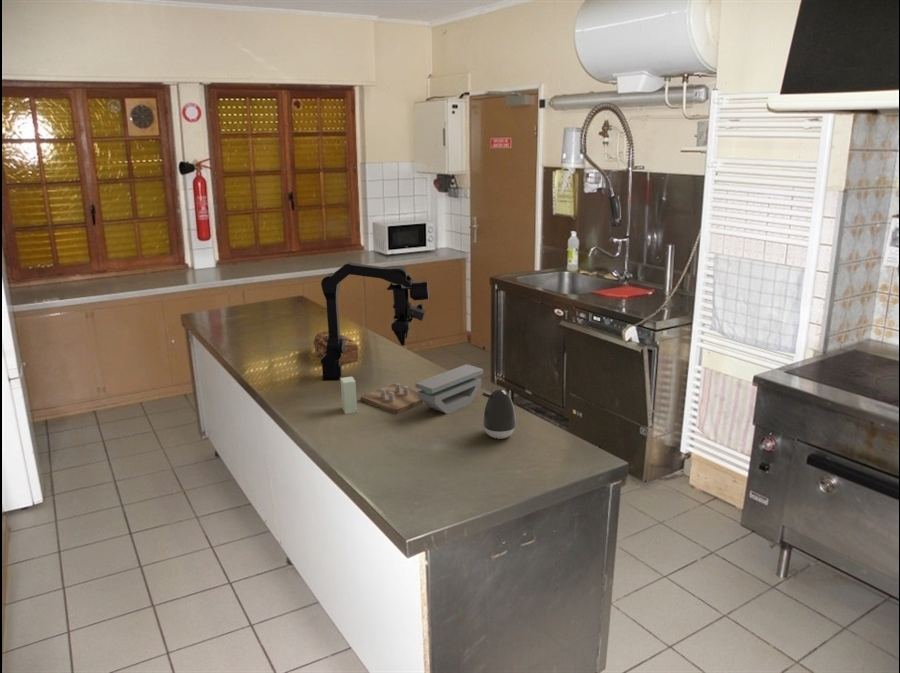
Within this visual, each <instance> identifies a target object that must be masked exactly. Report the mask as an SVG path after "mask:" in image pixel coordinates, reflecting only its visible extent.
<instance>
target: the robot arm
mask: <svg viewBox="0 0 900 673" xmlns="http://www.w3.org/2000/svg"><path fill="white" fill-rule="evenodd" d="M350 275H351V276H352V275H353V276H358V277H360V276H361V277H367V278H376V279H381V280H384V281H386V282H388V283H390V284H389V285H388V286H387V288H386V290H387V291H392V299H393V301H392V302H393V304H392V309H393V311H394V312H393V313H394V315H393V319H394V320H393V321H392V322H391V324H390V327H391V330H392V332H393V333H394V335H395V337H396V339H397V340H398V342H399V344H400V345H401V346H405V345H406V344H405V343H406V339H407V338H408V334H409V330H410V323H412V321H413V319H416V320H418V321H423V320H424V317H425V313H426V308H424V307H423V304H421V303H418V304H417V305H416V306H415V305H414V306H413V305H412V303H411V301H410V298H411V300H412V301H427V300H428V301H429V300H430V288H429V284H428V281H427V280H423V281H414V280H413V278H412V277H411V276H410V275H409V273H408V269H407V268H406V267H405V266H403V265H388V266H379V265H378V266H376V265H371V264H362V263H356V262H355V263H354V262H351V261H346V262H345V263H344V265H342V266H341V267H340V268H338V269H337V270H336V271H334V272H329V273H327V274H326V275H325V276H324V278H323V279H322V280H321V282H320V286H321V289H322V294H323V296H324V297H325V298H324V299H325V302H326V314H327V315H326V316H327V317H326V318H327V332H328V333H329V338H328V343H327V349H326V353H325V355H324V356H323V358H321V359H320V363H321V368H322V369H321V371H322V377H321V380H322V381H339V380H341V378H342V375H343V370H342V364H340V360H339V359H340V358H341V356H342V354H343V353H344V351H345V349H346V346H345V338H341V335H342V334H341V331H340V330H341V328H340V316H339V315H340V314H339V299H338V297H339V293H340V287H341V282H342V281H343V280H345V278H347V277H348V276H350ZM340 334H341V335H340Z"/></svg>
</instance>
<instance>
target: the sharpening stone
mask: <svg viewBox="0 0 900 673" xmlns="http://www.w3.org/2000/svg"><path fill="white" fill-rule="evenodd" d="M480 375H484V368H480V367H477V366H473V365H470V364H467V363H466V364H464V365H461V366H458V367H455V368H453V369H450V370H446V371H444V372H442V373H439V374H436V375H434V376H431V377H429V378H425V379H423V380H420V381H417V382H415V383H414V384H415V385H414V386H415V388H416V389H419V390H418V391H417V392H418V398H419V399H420V400H422V401H423V402H424V403H423V404H425V405H427V406H428V407H429V408H430V409H432V408H433V410H435V411H439V412H441V413H443V414H446V415H448V414H451V413H453V412H455V411H457V410H461V409H463V408H465V407H467V406H469V405H471V404H472V402H473V400H474V398H475V397H476V395H477V393H478V392H479V390H480V388H481V386H482V378H478V376H480Z"/></svg>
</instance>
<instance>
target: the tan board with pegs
mask: <svg viewBox="0 0 900 673" xmlns="http://www.w3.org/2000/svg"><path fill="white" fill-rule="evenodd" d="M360 401H361V402H363V401H364V403H366V402H367V403H366V404H369V403H370V404H369V405H371V404H373V405H372V406H374V405H375V407H377V406H378V407H377V408H379V407H381V408H380V409H382V408H383V410H385V409H386V410H385V411H387V410H388V412H390V411H391V413H393V412H394V414H395V413H396V415H398V414H400V413H402V411H403V412H405V411H407V410H410V409H413V408H414V406H415V407H417V406H419V405H421V403H422V404H424V403H423V401H422V400H420V399H419V398H418V391H416V390H413V389H410V387H409V386H407V385H404V386H402V384H401V383H398V382H395V383H393V384H390V385H387V386H384V387H382V388H379V389H377V390H374V391H371V392H369V393H366V394H364V395H360ZM409 408H410V409H409ZM397 413H398V414H397Z"/></svg>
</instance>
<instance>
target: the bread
mask: <svg viewBox="0 0 900 673" xmlns="http://www.w3.org/2000/svg"><path fill="white" fill-rule="evenodd" d="M340 335H341V338H345V346H346V349H345V351H344V353H343V354H342V356H341V358H340V359H339V360H340V364H341V365H346V364H348V363H353V362H352V361H354V362H357V361H358V359H359V347H358V344H357V343H356V342H355V340H353V339H351V338H349V337H348V336H345V335H344V334H341V333H340ZM313 338H314V339H313V347H314V349H313V350H314V351H315V352H314V353H315V355H316V356H317V357H320V358H321V359H322V358H323V356H324V355H325V353H326V349H327V343H328V338H329V333H328V331H322V332H319V333H317V334H316V335H315V336H314V337H313ZM356 360H357V361H356ZM345 363H346V364H345Z"/></svg>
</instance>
